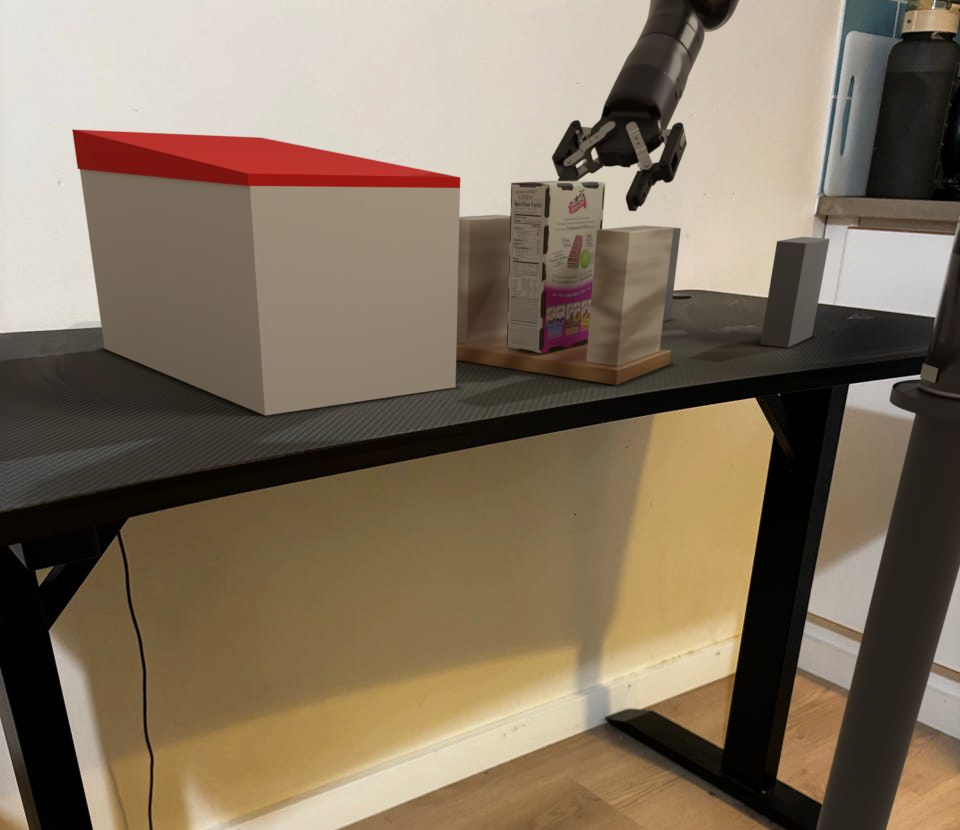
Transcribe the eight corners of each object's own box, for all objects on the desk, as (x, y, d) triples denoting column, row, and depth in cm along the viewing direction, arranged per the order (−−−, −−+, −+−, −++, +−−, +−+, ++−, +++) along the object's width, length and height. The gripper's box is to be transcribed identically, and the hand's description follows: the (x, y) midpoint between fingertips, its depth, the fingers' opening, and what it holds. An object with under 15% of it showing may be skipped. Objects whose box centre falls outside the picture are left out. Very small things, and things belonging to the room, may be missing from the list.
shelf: (669, 364, 107) (686, 227, 100) (616, 385, 96) (630, 233, 90) (492, 339, 117) (497, 213, 111) (426, 355, 106) (427, 217, 100)
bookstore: (272, 332, 116) (260, 137, 107) (455, 387, 93) (461, 143, 83) (101, 348, 104) (71, 129, 94) (263, 415, 80) (244, 134, 71)
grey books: (811, 336, 127) (829, 238, 122) (788, 347, 119) (806, 243, 113) (647, 316, 138) (657, 226, 133) (614, 325, 130) (623, 229, 124)
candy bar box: (558, 336, 111) (568, 179, 104) (595, 342, 109) (609, 182, 101) (502, 349, 103) (509, 179, 96) (540, 355, 101) (551, 182, 93)
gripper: (583, 62, 109) (527, 173, 106) (702, 60, 103) (648, 179, 99) (599, 117, 116) (547, 224, 112) (712, 119, 109) (661, 232, 106)
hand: (594, 203), depth 106 cm, fingers open, 8 cm apart
